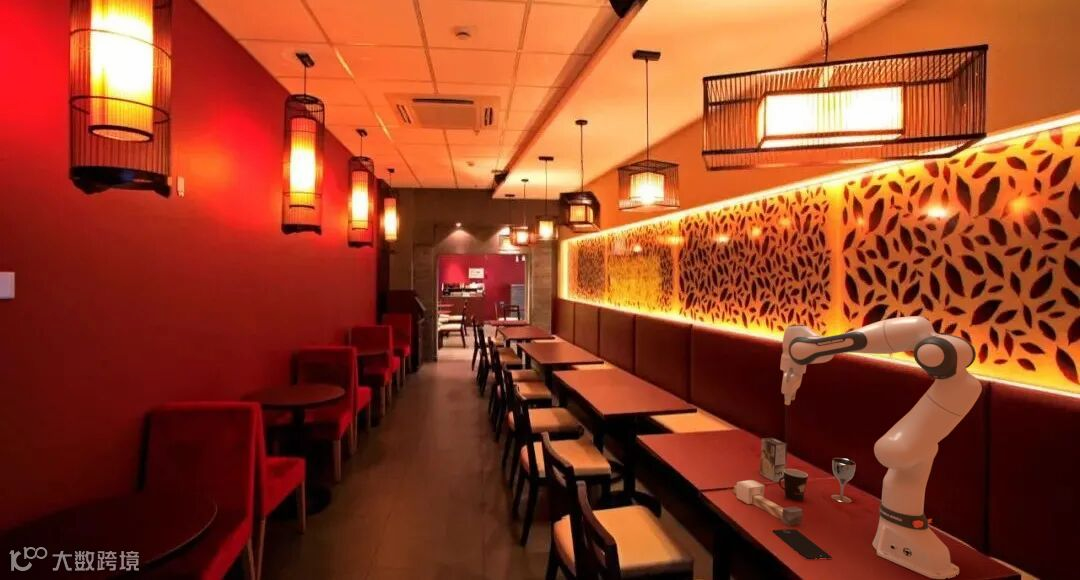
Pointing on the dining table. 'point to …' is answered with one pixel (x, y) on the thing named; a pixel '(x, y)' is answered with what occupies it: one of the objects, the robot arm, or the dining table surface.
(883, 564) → the dining table surface
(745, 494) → the keeper
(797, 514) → the rail
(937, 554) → the robot arm
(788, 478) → the coffee mug
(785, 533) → the cell phone
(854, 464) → the wine glass
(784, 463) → the coffee box
